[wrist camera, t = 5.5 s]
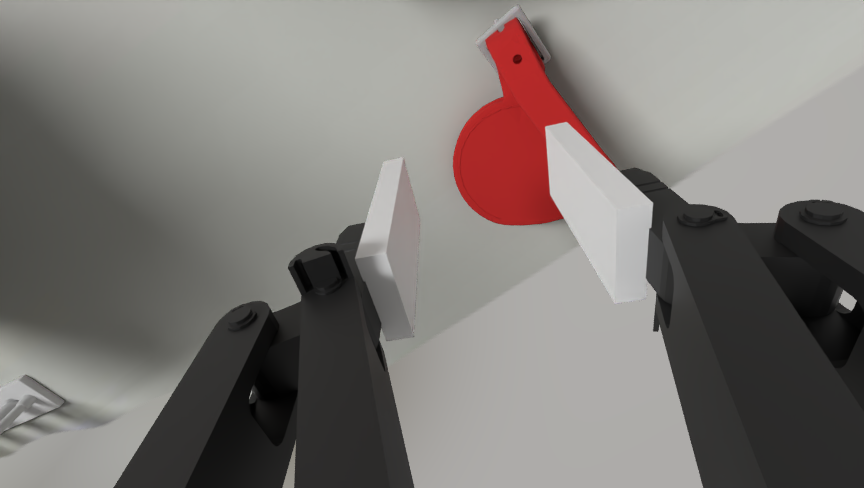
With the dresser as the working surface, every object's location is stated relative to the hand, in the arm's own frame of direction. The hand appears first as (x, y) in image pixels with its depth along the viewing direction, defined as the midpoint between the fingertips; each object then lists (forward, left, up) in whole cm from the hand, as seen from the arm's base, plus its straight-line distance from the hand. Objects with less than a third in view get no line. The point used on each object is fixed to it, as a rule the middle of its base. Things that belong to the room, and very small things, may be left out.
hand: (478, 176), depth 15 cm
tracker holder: (-1, 0, -10) cm, 10 cm away
